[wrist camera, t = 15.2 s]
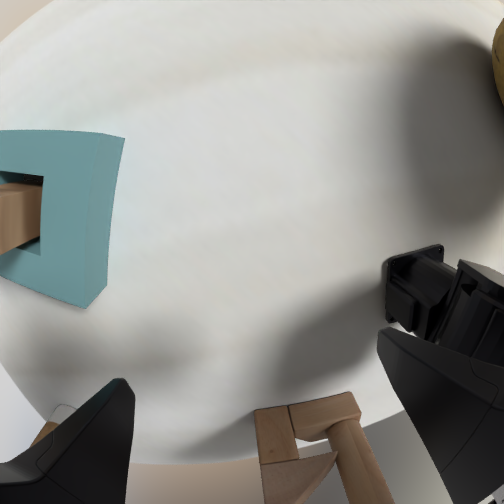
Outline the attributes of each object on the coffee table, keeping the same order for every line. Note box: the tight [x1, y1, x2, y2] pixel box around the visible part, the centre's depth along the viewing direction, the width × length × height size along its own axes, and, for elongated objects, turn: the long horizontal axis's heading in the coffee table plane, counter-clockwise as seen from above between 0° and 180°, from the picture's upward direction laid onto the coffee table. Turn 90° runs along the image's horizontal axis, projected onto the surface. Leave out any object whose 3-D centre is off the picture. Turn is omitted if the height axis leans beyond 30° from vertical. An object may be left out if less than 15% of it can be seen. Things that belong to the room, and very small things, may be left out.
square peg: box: [0, 179, 43, 255], centre depth 12 cm, size 4×4×10 cm
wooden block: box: [254, 392, 395, 504], centre depth 17 cm, size 4×11×18 cm, turn 96°
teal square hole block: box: [0, 130, 125, 309], centre depth 15 cm, size 14×12×4 cm
